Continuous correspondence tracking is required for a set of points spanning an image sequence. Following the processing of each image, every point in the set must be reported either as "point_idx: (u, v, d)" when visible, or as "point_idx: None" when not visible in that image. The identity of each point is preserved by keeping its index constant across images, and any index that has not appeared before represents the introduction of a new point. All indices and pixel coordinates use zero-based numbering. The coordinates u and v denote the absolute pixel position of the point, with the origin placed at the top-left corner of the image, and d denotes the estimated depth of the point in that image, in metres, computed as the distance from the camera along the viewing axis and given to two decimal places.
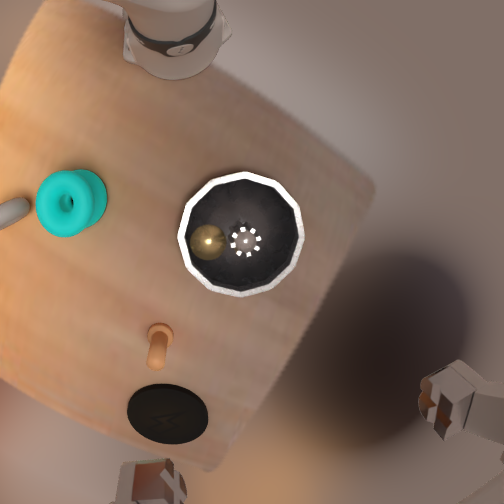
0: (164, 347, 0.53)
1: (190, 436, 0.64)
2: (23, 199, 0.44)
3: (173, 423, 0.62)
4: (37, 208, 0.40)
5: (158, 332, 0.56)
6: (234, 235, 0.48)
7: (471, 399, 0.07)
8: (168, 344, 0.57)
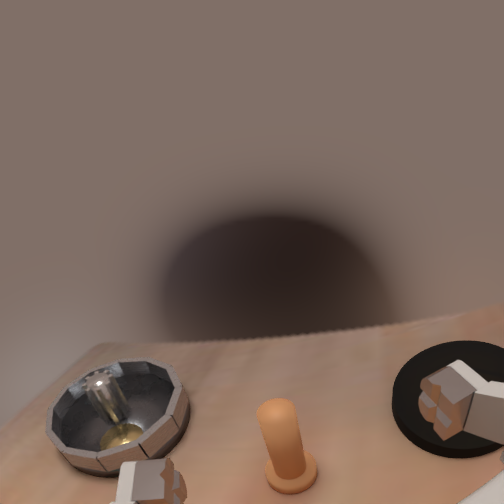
0: None
1: (474, 347, 0.33)
2: None
3: None
4: None
5: (274, 470, 0.25)
6: (87, 389, 0.33)
7: (471, 399, 0.07)
8: None
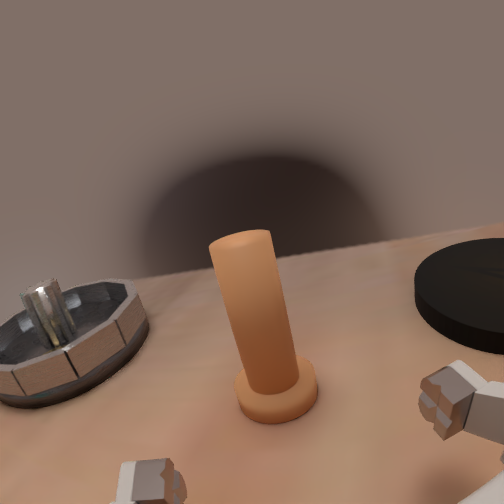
0: None
1: None
2: None
3: None
4: None
5: (247, 379, 0.18)
6: (24, 295, 0.26)
7: (471, 399, 0.07)
8: None
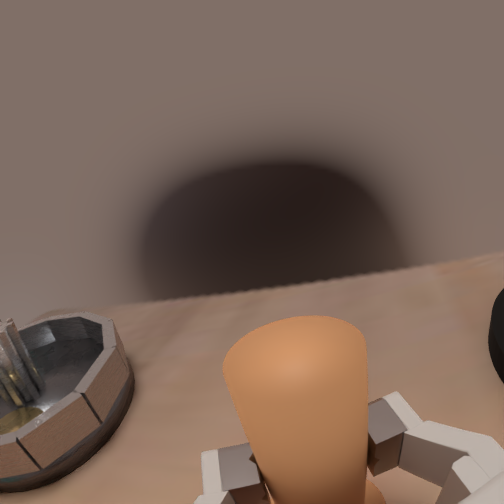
0: None
1: None
2: None
3: None
4: None
5: None
6: None
7: (402, 438, 0.07)
8: None
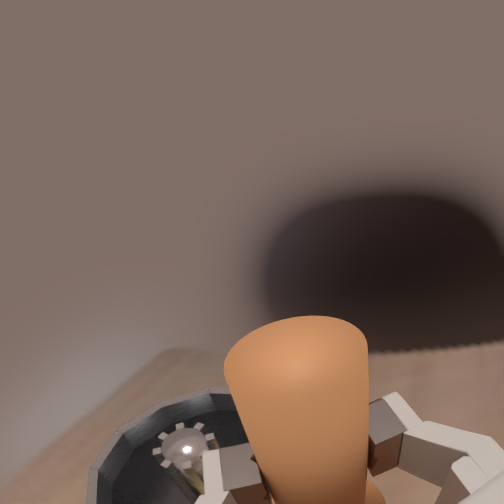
0: None
1: None
2: None
3: None
4: None
5: None
6: (165, 463, 0.17)
7: (401, 439, 0.07)
8: None
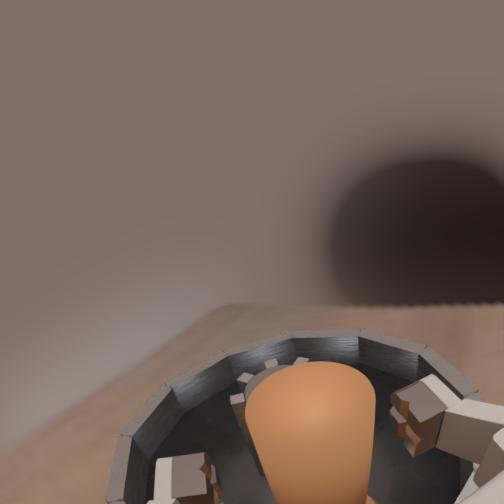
0: None
1: None
2: None
3: None
4: None
5: None
6: None
7: (442, 417, 0.07)
8: None
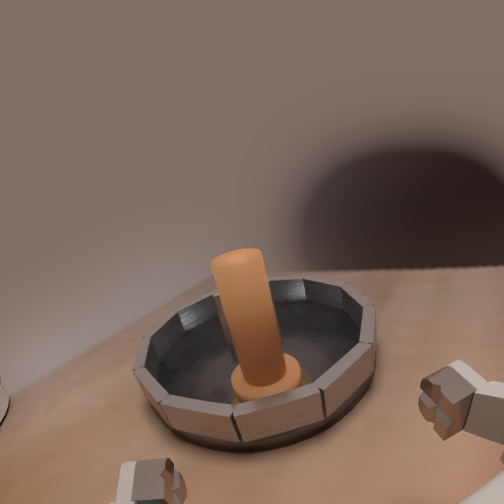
0: None
1: None
2: None
3: None
4: None
5: (242, 373, 0.21)
6: None
7: (471, 399, 0.07)
8: None
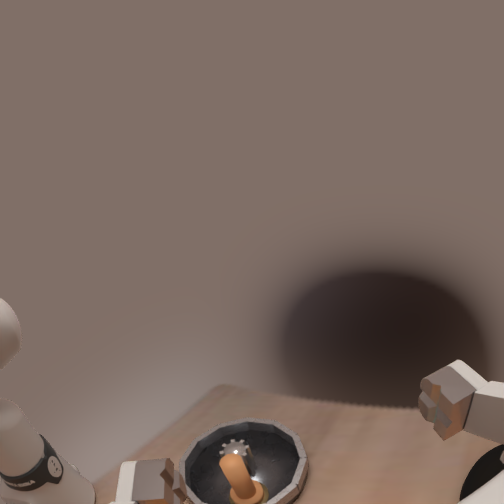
0: None
1: None
2: None
3: None
4: None
5: (235, 492, 0.37)
6: None
7: (471, 399, 0.07)
8: (253, 481, 0.39)
